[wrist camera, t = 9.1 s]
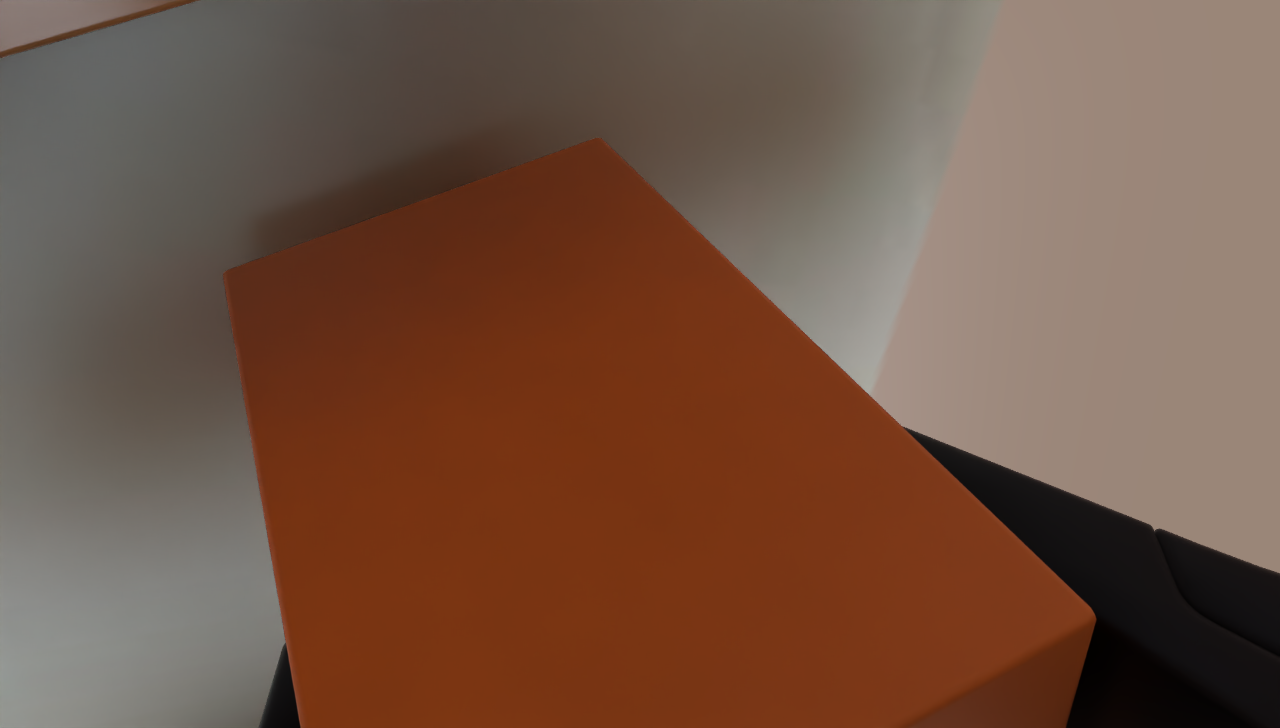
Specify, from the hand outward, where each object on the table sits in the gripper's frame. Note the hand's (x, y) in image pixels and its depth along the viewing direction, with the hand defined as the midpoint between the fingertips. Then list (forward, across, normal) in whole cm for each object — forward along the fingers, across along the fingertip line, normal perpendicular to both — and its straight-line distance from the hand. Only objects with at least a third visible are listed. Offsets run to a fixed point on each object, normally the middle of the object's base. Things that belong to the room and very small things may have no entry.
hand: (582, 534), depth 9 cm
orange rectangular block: (+5, 0, 0) cm, 5 cm away
